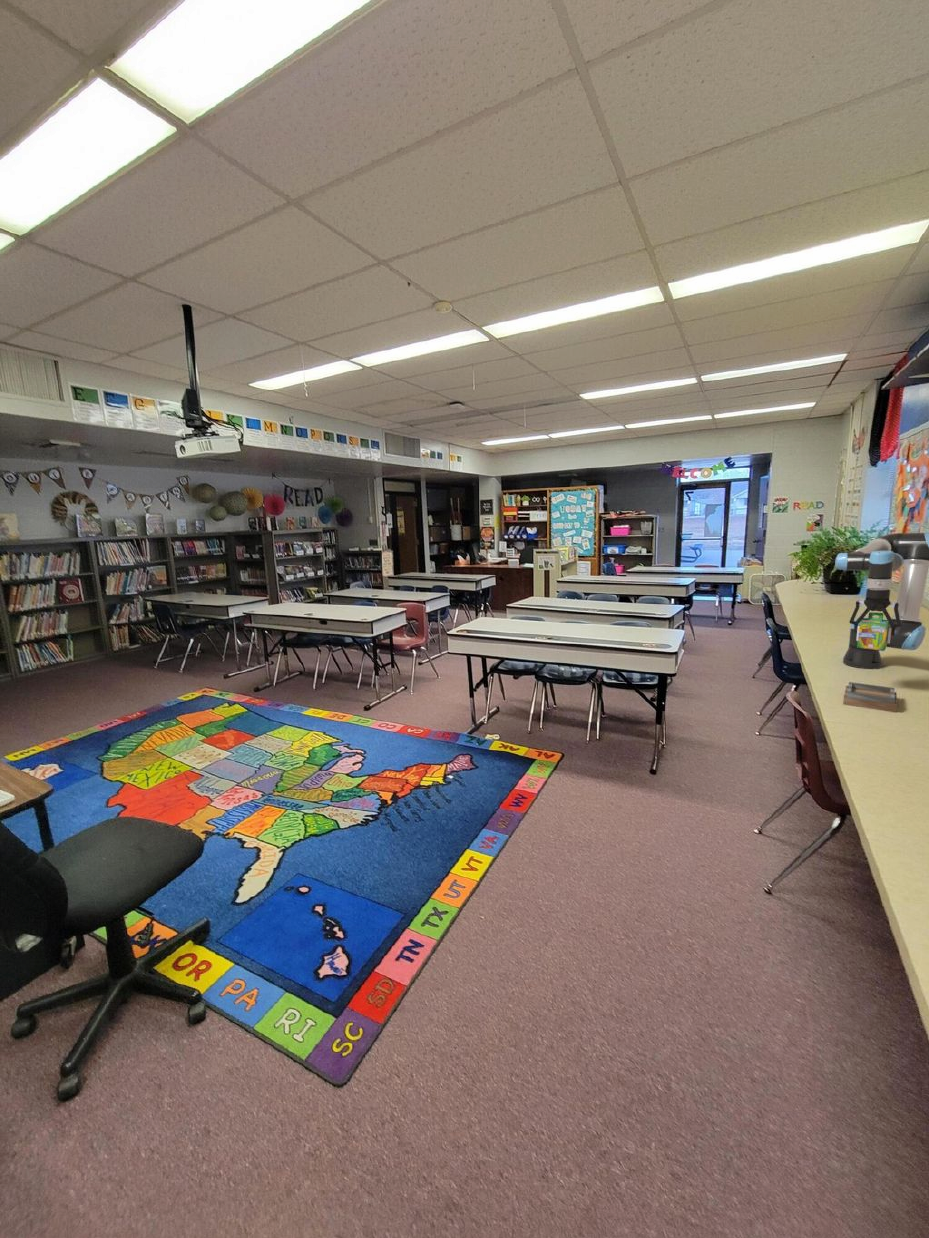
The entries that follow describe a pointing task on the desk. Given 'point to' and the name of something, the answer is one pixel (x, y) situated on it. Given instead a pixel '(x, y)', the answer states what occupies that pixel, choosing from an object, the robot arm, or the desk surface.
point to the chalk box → (873, 632)
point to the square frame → (870, 696)
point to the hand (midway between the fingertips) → (872, 641)
